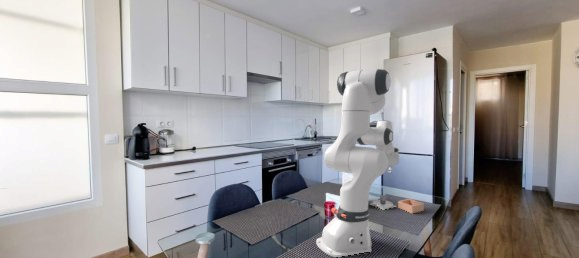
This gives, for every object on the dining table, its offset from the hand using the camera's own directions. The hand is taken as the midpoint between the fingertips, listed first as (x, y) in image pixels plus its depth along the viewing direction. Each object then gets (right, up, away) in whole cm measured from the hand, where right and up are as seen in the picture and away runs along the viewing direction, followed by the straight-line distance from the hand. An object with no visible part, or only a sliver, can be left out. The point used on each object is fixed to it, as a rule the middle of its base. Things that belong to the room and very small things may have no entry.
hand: (383, 173), depth 143 cm
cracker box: (-16, -18, +6) cm, 25 cm away
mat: (0, -18, +1) cm, 18 cm away
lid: (0, -18, +1) cm, 18 cm away
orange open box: (+13, -19, -5) cm, 23 cm away
